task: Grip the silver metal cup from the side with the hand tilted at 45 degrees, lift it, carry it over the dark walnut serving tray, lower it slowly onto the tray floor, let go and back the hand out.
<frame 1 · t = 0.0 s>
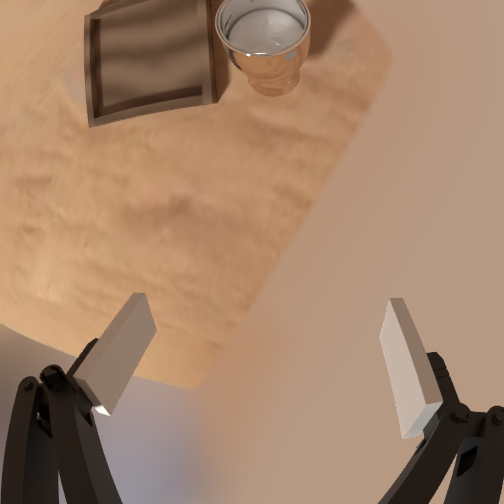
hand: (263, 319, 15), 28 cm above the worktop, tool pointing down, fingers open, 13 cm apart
silver metal cup: (273, 74, 29), point 5 cm above the worktop
walnut tray: (146, 51, 33), on the worktop
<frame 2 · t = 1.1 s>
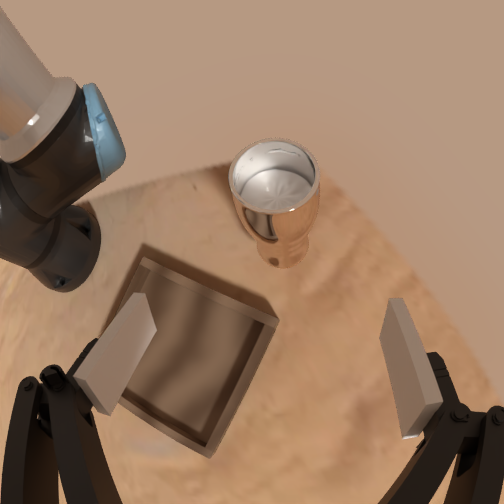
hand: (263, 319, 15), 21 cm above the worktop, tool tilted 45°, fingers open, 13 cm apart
silver metal cup: (282, 244, 34), point 4 cm above the worktop
walnut tray: (178, 356, 36), on the worktop
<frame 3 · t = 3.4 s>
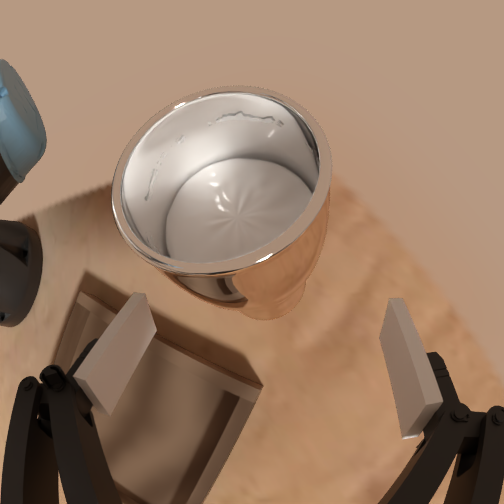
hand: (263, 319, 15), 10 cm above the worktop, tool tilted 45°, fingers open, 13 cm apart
silver metal cup: (265, 280, 22), point 4 cm above the worktop
walnut tray: (131, 422, 23), on the worktop
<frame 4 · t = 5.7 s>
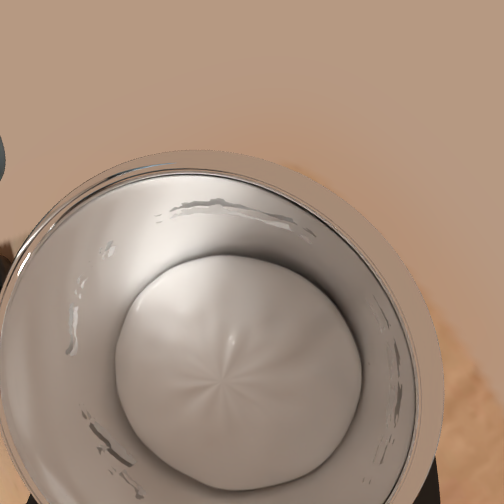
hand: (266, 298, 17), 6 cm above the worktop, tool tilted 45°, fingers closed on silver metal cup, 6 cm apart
silver metal cup: (266, 360, 17), point 4 cm above the worktop, touching gripper
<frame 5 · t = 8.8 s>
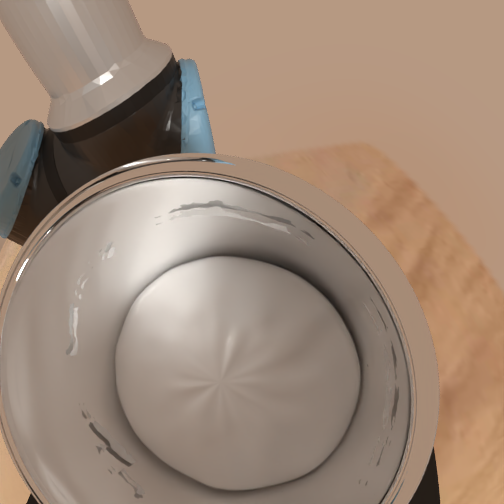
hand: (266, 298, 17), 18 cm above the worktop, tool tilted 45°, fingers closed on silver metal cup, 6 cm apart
silver metal cup: (267, 360, 17), point 17 cm above the worktop, touching gripper
when the fingers open (8 cm above the worktop, at t = 11.6 s): silver metal cup drops 1 cm, point 4 cm above the worktop.
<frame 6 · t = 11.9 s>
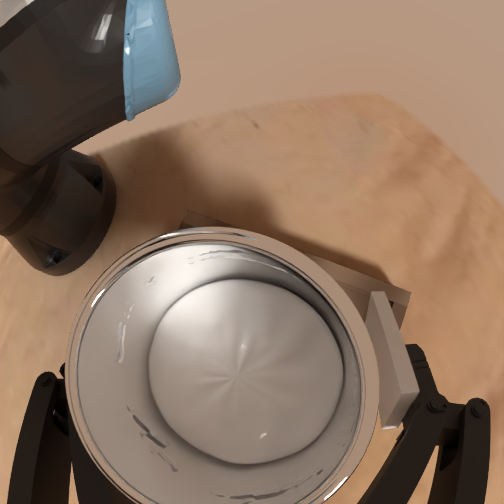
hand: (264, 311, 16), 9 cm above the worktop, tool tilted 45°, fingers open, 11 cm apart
silver metal cup: (268, 360, 19), point 4 cm above the worktop
walnut tray: (249, 366, 23), on the worktop
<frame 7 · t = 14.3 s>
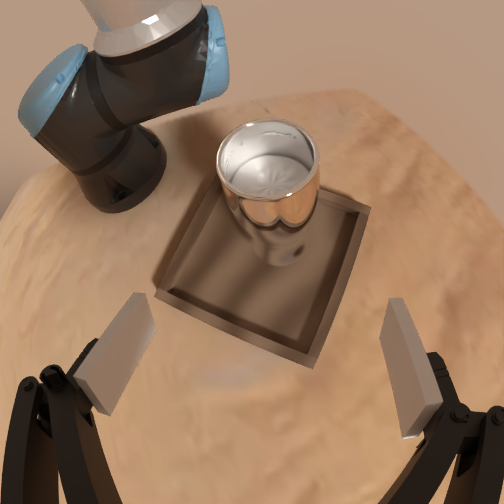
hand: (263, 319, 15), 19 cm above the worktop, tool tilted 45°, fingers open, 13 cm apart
silver metal cup: (280, 240, 32), point 4 cm above the worktop
walnut tray: (266, 258, 36), on the worktop
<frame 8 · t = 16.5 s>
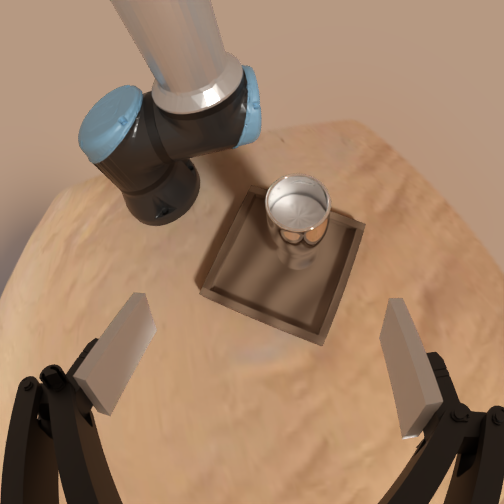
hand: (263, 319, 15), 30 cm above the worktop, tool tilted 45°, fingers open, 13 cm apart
silver metal cup: (297, 250, 42), point 4 cm above the worktop
walnut tray: (285, 263, 46), on the worktop
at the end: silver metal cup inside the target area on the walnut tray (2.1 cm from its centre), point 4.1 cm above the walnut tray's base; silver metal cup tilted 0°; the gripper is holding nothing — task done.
